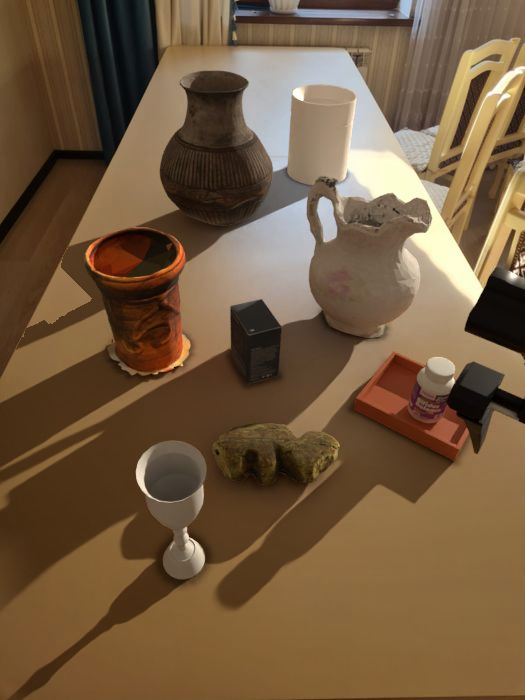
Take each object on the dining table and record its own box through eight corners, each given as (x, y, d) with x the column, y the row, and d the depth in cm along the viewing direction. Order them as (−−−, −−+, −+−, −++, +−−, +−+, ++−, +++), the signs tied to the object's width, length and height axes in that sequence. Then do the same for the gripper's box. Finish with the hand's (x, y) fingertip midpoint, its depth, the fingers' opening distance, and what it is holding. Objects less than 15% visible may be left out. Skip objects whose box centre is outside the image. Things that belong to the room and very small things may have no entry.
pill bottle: (409, 423, 80) (424, 377, 74) (404, 397, 84) (418, 351, 78) (445, 426, 80) (464, 380, 74) (439, 399, 84) (456, 354, 78)
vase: (252, 188, 138) (254, 59, 118) (285, 236, 121) (294, 95, 100) (156, 200, 132) (141, 66, 111) (177, 253, 114) (163, 105, 94)
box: (279, 376, 88) (282, 326, 81) (247, 385, 86) (247, 335, 79) (260, 346, 93) (262, 297, 86) (229, 354, 92) (229, 305, 84)
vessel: (125, 394, 84) (103, 290, 71) (94, 342, 93) (69, 240, 79) (207, 362, 90) (201, 260, 77) (171, 315, 99) (160, 216, 85)
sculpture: (209, 464, 68) (214, 413, 76) (209, 493, 71) (214, 441, 79) (348, 467, 68) (338, 416, 77) (343, 495, 71) (334, 443, 80)
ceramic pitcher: (278, 333, 98) (283, 213, 80) (309, 270, 110) (319, 154, 92) (397, 364, 93) (431, 243, 75) (416, 294, 105) (448, 177, 87)
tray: (484, 405, 85) (490, 394, 83) (454, 461, 76) (459, 449, 75) (390, 362, 91) (393, 350, 90) (353, 409, 83) (355, 397, 81)
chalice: (148, 542, 66) (128, 452, 54) (201, 522, 68) (193, 432, 56) (164, 598, 61) (146, 513, 49) (221, 575, 63) (217, 488, 51)
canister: (275, 174, 144) (279, 95, 131) (306, 155, 154) (313, 80, 141) (327, 191, 138) (337, 110, 124) (356, 170, 148) (368, 93, 134)
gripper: (702, 364, 50) (622, 464, 61) (502, 291, 58) (462, 391, 69) (690, 441, 43) (603, 538, 54) (466, 347, 51) (427, 448, 62)
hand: (517, 471), depth 60 cm, fingers open, 9 cm apart
